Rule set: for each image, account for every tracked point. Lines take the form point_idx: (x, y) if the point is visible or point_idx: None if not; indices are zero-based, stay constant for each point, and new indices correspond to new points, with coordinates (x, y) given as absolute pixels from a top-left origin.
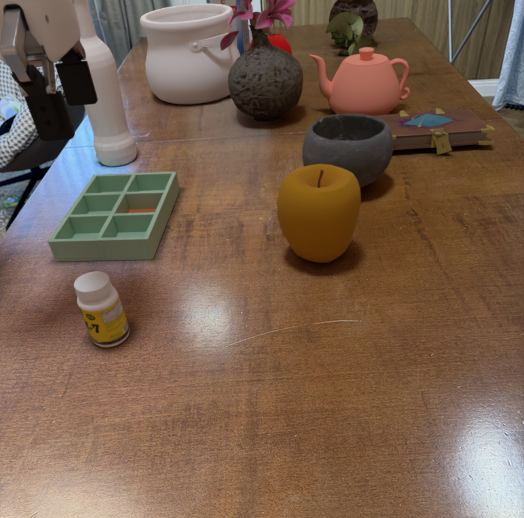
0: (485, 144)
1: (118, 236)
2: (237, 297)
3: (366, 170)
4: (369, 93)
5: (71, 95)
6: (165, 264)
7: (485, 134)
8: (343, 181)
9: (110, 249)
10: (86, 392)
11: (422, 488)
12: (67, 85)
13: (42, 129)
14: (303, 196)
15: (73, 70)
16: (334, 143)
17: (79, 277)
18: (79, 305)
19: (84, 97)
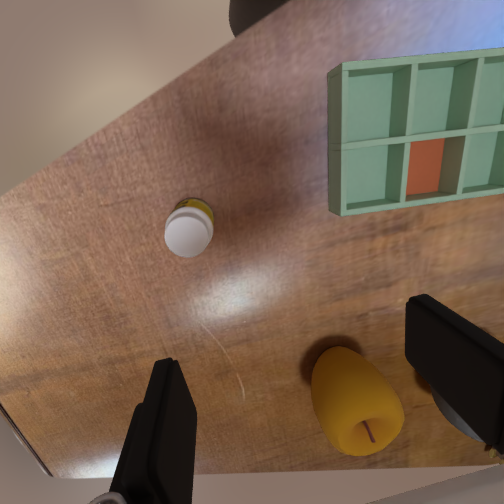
0: (489, 452)
1: (378, 148)
2: (265, 313)
3: (438, 407)
4: None
5: (423, 327)
6: (318, 228)
7: (501, 458)
8: (357, 451)
9: (335, 161)
10: (113, 226)
11: (105, 444)
12: (445, 343)
13: (136, 407)
14: (335, 422)
15: (481, 401)
16: None
17: (191, 219)
18: (168, 218)
19: (415, 350)
